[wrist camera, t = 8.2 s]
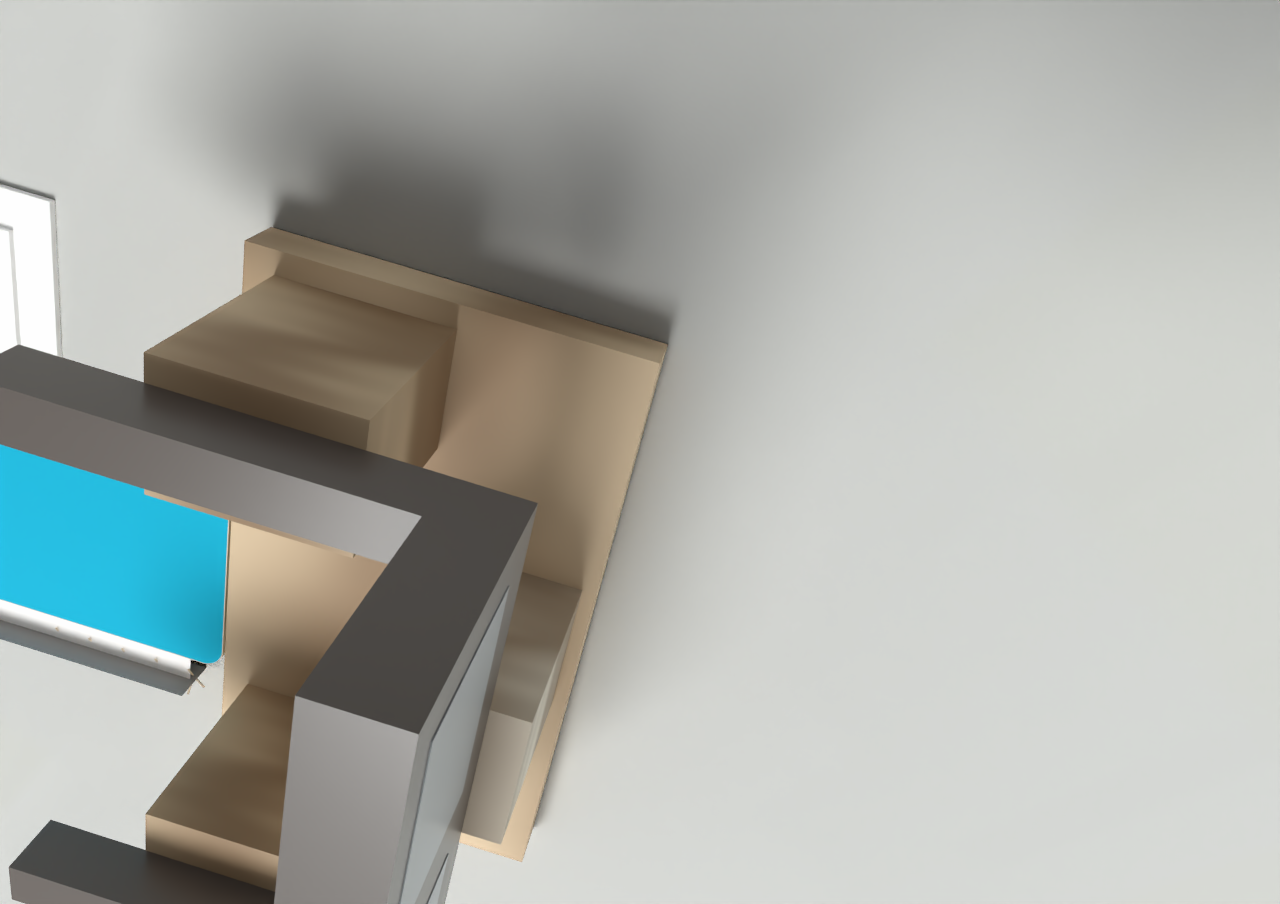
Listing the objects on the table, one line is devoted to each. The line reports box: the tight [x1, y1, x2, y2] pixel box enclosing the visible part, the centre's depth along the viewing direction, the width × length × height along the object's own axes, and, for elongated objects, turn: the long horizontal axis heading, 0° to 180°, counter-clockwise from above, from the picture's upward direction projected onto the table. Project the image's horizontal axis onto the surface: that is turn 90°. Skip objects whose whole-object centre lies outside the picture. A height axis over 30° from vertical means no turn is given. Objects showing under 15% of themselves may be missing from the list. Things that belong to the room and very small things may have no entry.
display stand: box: [144, 227, 668, 892], centre depth 20 cm, size 8×14×5 cm, turn 165°
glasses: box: [0, 344, 538, 904], centre depth 16 cm, size 8×12×5 cm
